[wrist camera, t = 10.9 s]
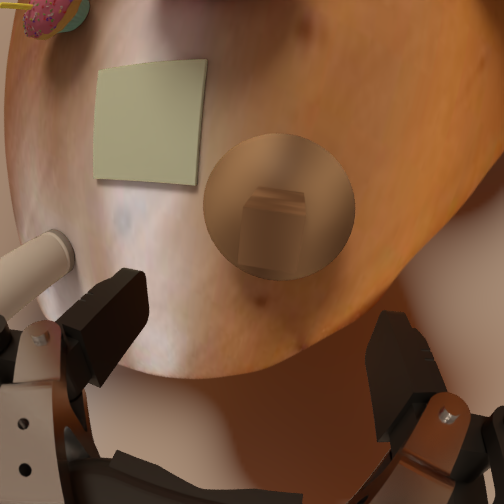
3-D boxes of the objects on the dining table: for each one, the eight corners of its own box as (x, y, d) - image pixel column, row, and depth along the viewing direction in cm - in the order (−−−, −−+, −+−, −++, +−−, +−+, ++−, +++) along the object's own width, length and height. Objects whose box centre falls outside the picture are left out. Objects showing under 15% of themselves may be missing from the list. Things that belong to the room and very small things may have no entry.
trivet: (207, 60, 22) (205, 59, 22) (197, 184, 27) (195, 185, 26) (101, 70, 23) (98, 70, 23) (96, 177, 28) (93, 178, 28)
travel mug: (42, 222, 32) (-73, 291, 14) (75, 236, 32) (-48, 321, 13) (44, 262, 34) (-54, 338, 16) (76, 278, 34) (-26, 369, 16)
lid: (364, 147, 19) (394, 154, 13) (336, 283, 23) (346, 338, 17) (212, 126, 20) (174, 125, 14) (204, 263, 24) (172, 309, 18)
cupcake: (50, 55, 23) (-23, 49, 12) (53, 5, 20) (-12, -10, 9) (103, 25, 21) (26, 1, 10) (104, -26, 18) (40, -58, 7)
